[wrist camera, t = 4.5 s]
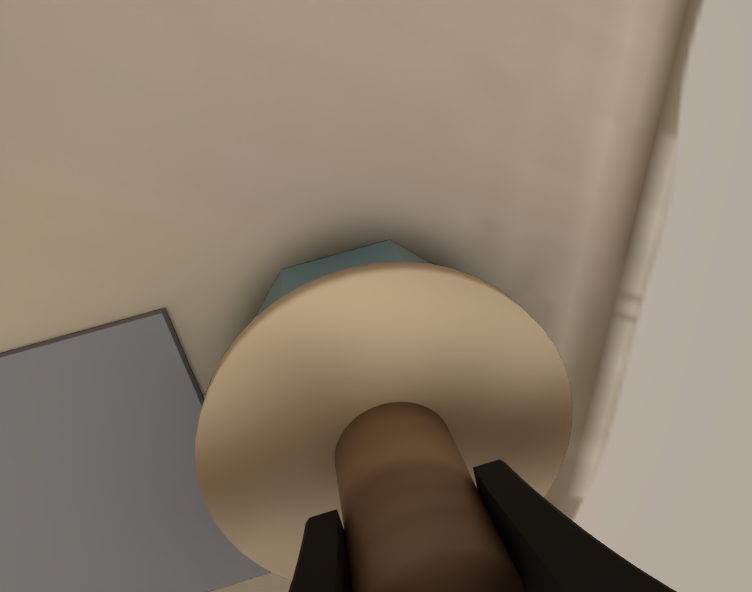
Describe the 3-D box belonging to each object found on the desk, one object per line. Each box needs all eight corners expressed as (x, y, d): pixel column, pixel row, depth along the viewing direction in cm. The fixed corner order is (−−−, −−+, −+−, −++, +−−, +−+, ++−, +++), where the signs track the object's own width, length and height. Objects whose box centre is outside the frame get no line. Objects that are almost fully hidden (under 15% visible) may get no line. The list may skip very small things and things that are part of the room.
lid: (566, 515, 16) (685, 695, 11) (261, 605, 15) (252, 836, 11) (545, 219, 12) (711, 301, 8) (140, 319, 12) (39, 480, 7)
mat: (273, 563, 20) (272, 571, 20) (-16, 653, 19) (-22, 663, 19) (164, 308, 16) (161, 313, 16) (-206, 410, 15) (-219, 418, 15)
